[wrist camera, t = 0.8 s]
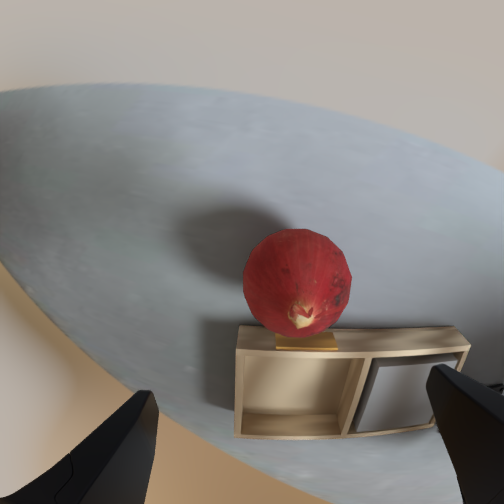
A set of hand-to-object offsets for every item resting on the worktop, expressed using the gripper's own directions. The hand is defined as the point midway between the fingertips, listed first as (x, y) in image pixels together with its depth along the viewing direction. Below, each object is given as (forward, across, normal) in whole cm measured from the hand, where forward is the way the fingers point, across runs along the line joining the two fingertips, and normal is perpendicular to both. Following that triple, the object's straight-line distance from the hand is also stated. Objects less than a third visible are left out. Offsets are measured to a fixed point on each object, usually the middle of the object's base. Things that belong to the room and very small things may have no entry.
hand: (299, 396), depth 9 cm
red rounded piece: (+13, -1, +1) cm, 13 cm away
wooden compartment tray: (+12, -6, +10) cm, 17 cm away
